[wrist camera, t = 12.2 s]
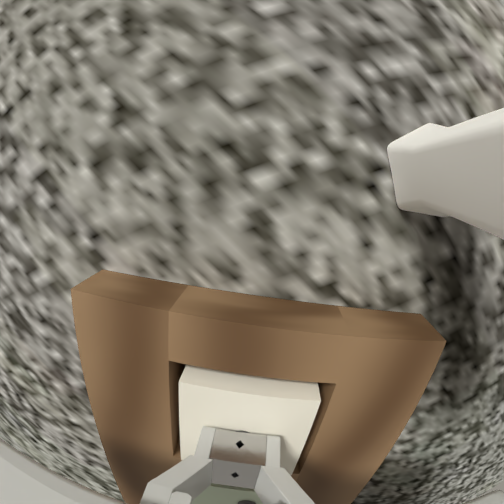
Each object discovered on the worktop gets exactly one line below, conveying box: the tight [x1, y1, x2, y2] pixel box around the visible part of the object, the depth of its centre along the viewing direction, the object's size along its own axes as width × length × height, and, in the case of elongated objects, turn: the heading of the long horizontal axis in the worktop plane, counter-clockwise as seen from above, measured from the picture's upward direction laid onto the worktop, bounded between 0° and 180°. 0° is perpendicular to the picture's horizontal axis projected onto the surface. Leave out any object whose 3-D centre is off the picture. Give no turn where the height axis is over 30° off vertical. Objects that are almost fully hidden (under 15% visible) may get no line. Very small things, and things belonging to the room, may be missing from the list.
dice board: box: [71, 270, 446, 504], centre depth 14 cm, size 14×24×2 cm, turn 173°
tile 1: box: [179, 364, 321, 475], centre depth 11 cm, size 5×5×3 cm
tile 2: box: [192, 483, 263, 504], centre depth 13 cm, size 5×5×3 cm
